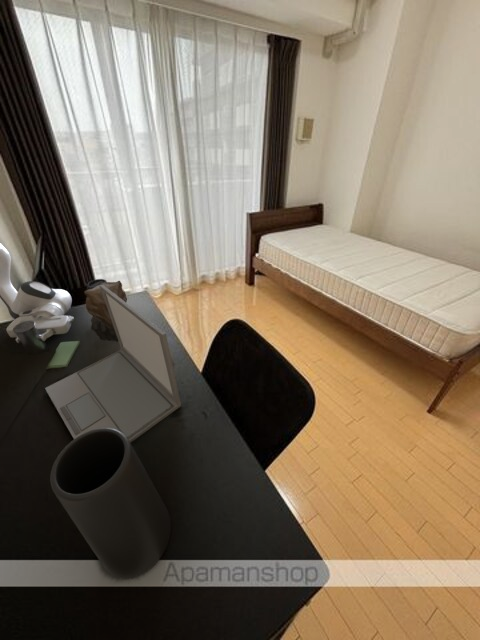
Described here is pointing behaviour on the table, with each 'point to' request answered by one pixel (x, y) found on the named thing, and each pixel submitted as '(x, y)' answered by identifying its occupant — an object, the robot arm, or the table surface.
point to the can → (30, 337)
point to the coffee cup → (95, 283)
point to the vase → (112, 501)
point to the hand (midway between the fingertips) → (29, 340)
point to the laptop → (121, 380)
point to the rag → (63, 354)
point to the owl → (103, 309)
